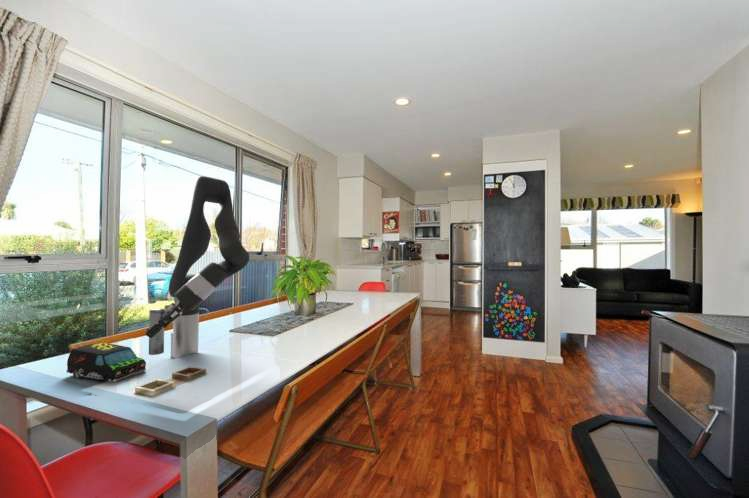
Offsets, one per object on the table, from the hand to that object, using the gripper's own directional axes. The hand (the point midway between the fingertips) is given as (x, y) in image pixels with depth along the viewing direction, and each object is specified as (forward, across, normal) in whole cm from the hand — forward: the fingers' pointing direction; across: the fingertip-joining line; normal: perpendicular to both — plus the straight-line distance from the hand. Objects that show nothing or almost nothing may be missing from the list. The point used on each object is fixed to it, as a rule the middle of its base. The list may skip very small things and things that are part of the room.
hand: (148, 334), depth 98 cm
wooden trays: (+8, -4, +18) cm, 20 cm away
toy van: (+22, -25, +4) cm, 34 cm away
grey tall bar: (+3, 0, +6) cm, 6 cm away
